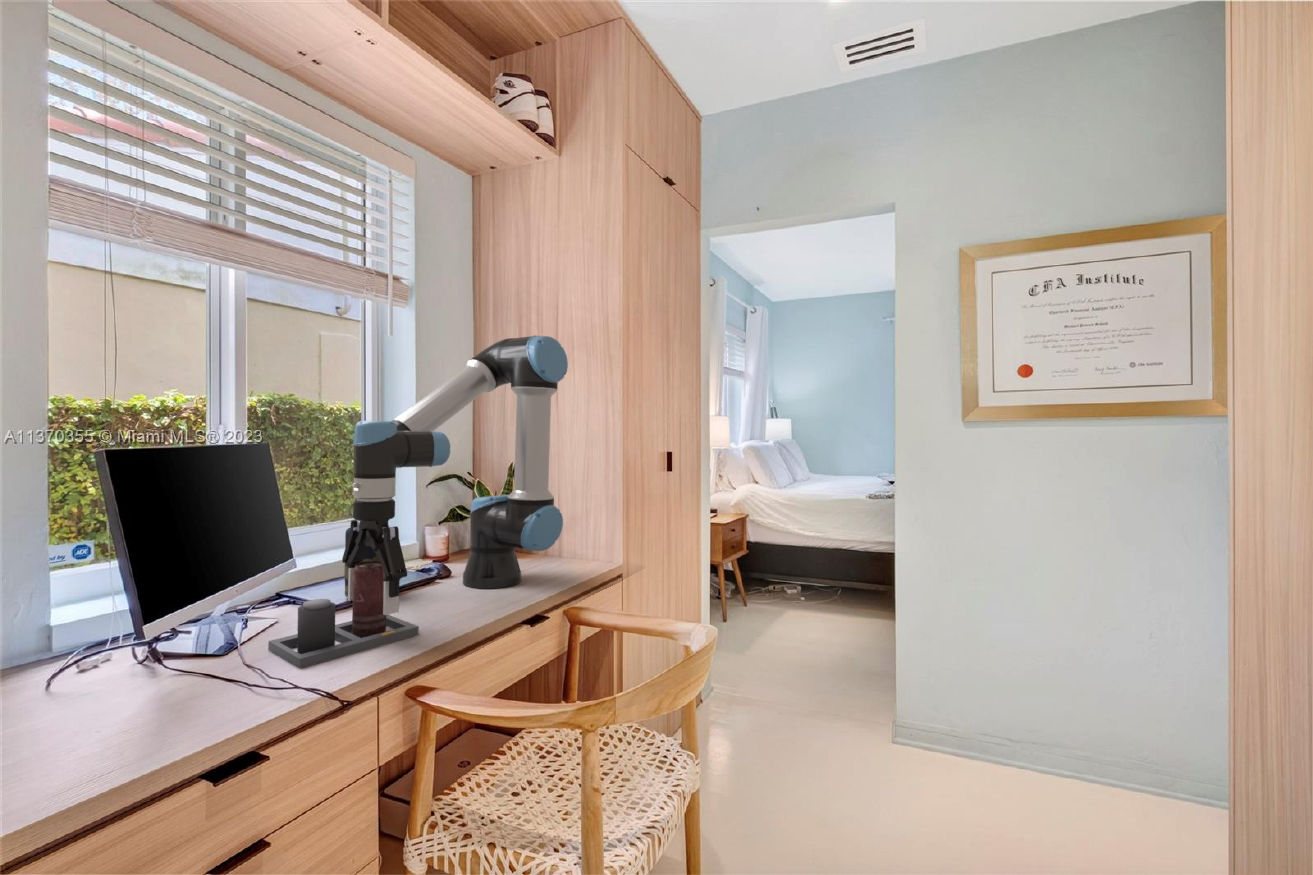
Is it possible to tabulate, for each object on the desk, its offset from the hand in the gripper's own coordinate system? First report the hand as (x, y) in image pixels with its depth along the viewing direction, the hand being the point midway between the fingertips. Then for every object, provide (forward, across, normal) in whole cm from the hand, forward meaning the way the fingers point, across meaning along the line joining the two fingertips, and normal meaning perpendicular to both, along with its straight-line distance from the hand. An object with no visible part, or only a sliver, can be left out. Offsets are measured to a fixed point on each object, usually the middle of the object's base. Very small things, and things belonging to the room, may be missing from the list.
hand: (372, 606), depth 119 cm
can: (+6, -1, 0) cm, 6 cm away
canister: (+6, -26, +12) cm, 29 cm away
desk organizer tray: (+6, 0, -5) cm, 8 cm away
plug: (+6, 0, -10) cm, 12 cm away
